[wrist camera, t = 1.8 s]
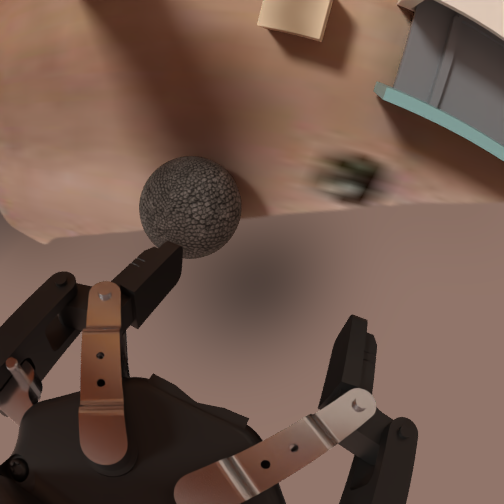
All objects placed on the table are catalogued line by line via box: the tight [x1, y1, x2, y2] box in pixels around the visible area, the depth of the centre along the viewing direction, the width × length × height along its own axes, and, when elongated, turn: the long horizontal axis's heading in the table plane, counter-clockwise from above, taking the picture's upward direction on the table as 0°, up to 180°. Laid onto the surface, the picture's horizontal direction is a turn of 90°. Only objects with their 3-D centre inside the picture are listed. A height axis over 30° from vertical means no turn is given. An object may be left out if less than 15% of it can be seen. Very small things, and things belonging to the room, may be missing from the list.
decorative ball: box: [139, 156, 241, 259], centre depth 30 cm, size 10×10×10 cm
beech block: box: [257, 0, 333, 42], centre depth 19 cm, size 5×5×4 cm
